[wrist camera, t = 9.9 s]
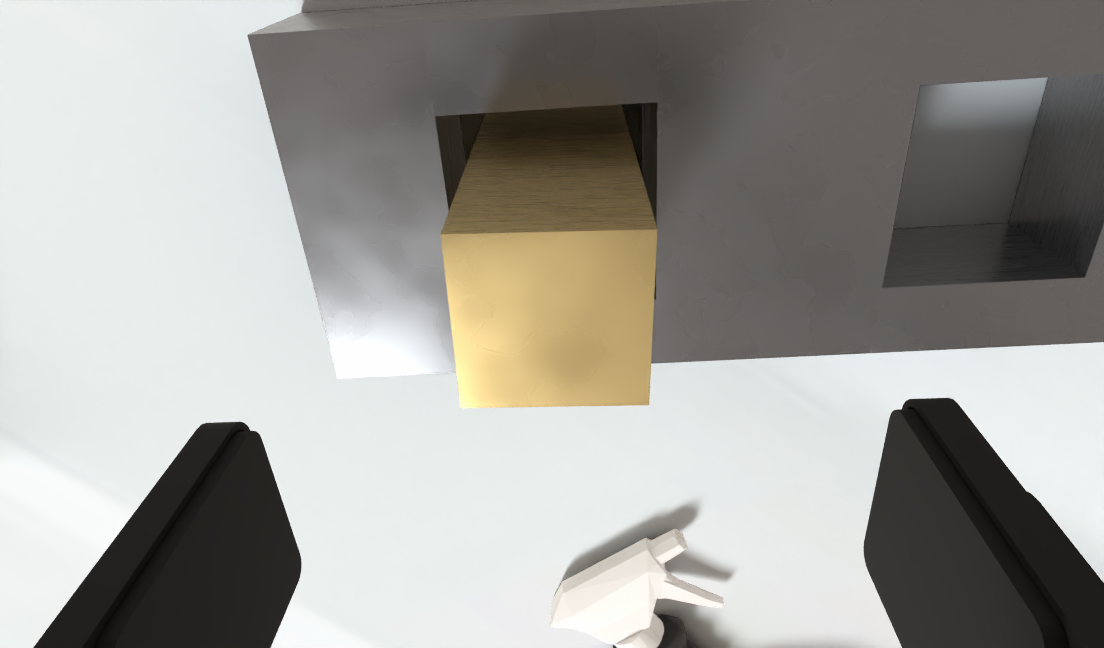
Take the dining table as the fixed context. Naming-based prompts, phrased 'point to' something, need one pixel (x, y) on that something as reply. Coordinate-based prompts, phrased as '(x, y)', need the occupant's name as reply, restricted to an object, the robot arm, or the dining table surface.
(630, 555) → the spray bottle
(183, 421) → the dining table surface
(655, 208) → the grey peg hole block
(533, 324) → the brass peg
